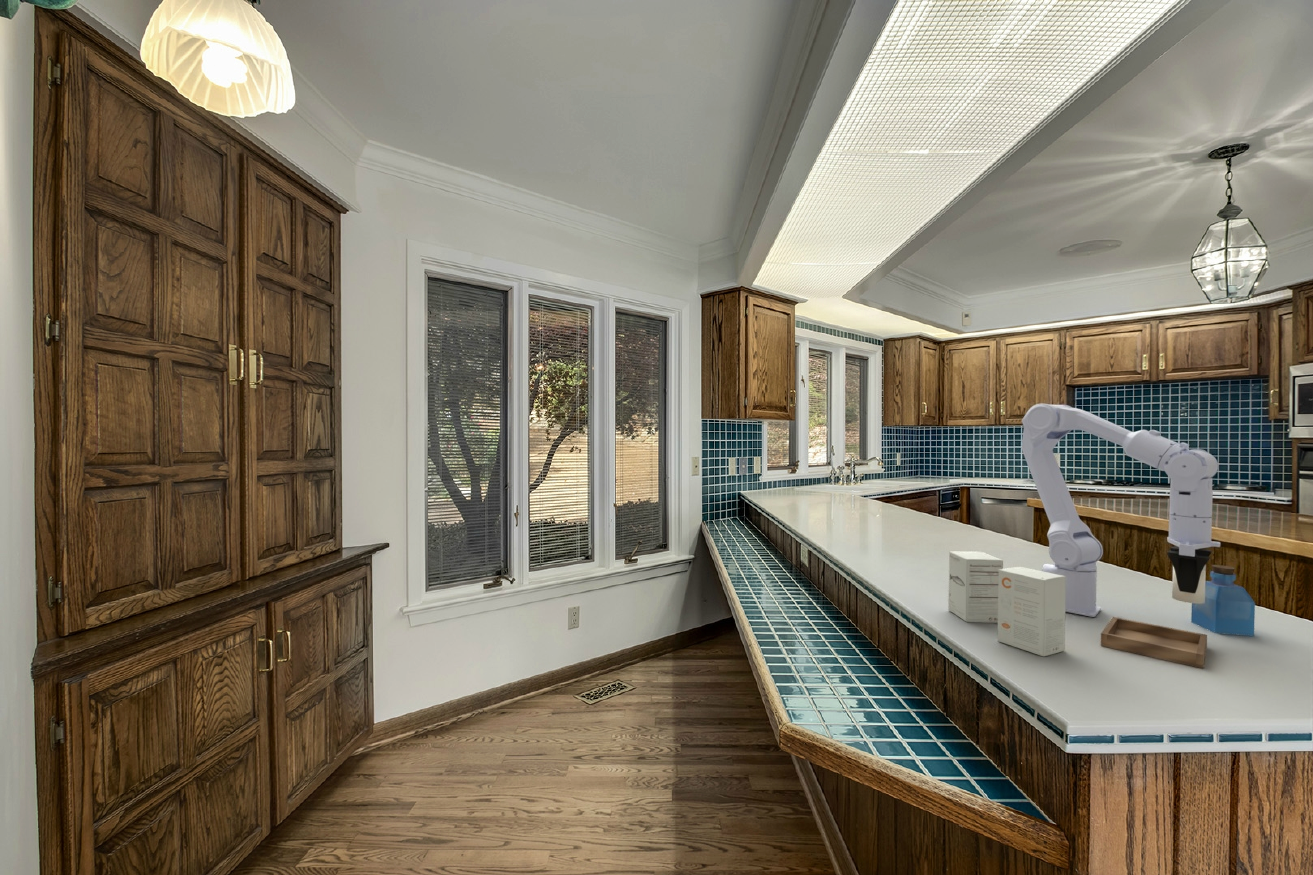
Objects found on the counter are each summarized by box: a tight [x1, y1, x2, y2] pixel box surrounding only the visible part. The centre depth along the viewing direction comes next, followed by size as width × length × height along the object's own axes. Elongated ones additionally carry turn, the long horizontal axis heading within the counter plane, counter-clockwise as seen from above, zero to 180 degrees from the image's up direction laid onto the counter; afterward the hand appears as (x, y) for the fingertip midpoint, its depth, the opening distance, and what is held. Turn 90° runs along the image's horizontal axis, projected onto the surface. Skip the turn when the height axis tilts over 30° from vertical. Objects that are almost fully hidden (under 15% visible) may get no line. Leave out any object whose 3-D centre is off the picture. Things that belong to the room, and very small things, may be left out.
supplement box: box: [947, 550, 1004, 624], centre depth 115 cm, size 7×7×13 cm
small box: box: [997, 566, 1066, 657], centre depth 100 cm, size 8×6×13 cm
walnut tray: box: [1100, 616, 1208, 669], centre depth 100 cm, size 13×13×2 cm
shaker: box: [1171, 564, 1207, 604], centre depth 104 cm, size 4×4×7 cm
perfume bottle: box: [1190, 564, 1256, 637], centre depth 110 cm, size 6×6×12 cm
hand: (1188, 589), depth 104 cm, fingers closed on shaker, 4 cm apart
